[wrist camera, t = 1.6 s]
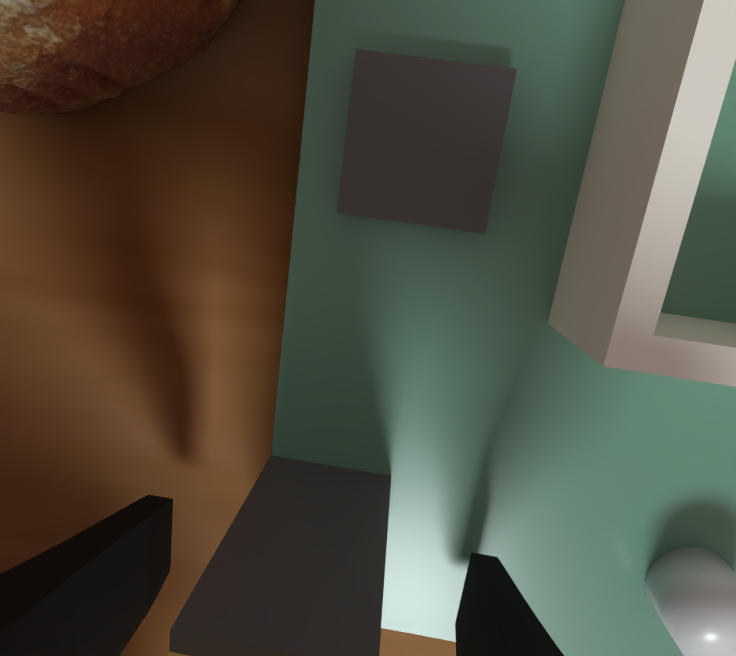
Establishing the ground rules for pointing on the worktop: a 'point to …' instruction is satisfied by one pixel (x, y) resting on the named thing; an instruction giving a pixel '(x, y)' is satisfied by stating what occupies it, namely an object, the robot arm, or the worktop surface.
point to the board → (500, 330)
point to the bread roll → (95, 47)
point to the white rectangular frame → (648, 194)
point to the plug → (294, 569)
